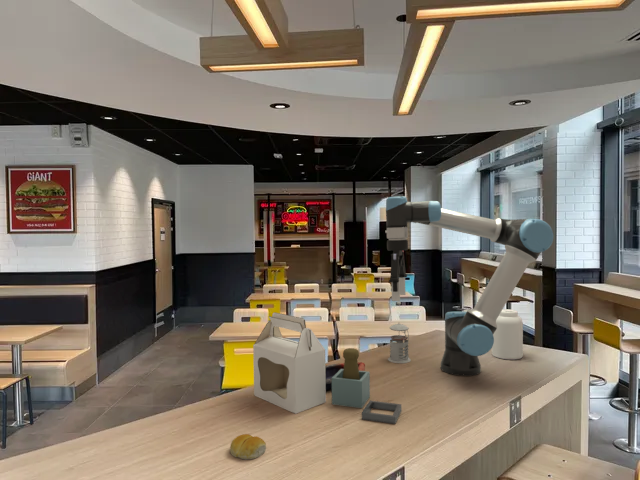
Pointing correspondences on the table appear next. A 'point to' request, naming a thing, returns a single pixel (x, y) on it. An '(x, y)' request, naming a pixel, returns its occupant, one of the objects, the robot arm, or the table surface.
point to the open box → (350, 390)
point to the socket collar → (381, 417)
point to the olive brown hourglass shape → (351, 364)
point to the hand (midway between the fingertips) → (399, 297)
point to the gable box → (289, 365)
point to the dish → (334, 368)
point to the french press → (399, 345)
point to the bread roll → (247, 447)
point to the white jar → (508, 336)
